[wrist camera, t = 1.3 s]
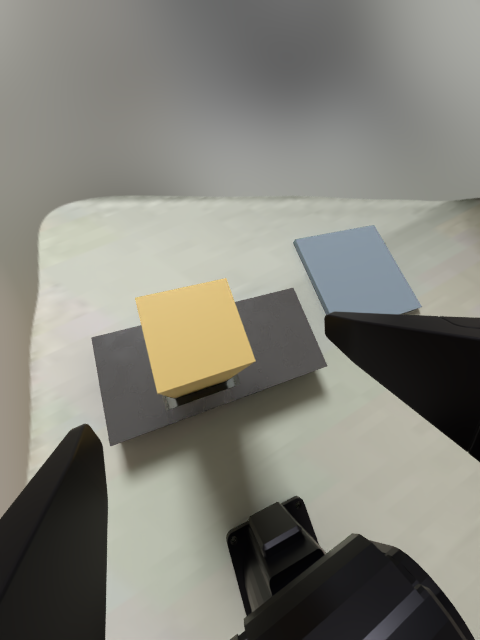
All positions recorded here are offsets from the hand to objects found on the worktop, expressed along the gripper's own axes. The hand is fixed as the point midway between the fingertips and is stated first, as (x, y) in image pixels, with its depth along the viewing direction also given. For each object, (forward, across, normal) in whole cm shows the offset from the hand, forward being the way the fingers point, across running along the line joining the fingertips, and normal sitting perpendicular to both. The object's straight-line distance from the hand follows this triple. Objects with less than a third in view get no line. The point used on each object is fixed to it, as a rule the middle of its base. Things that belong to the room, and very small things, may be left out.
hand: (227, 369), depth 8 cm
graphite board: (+12, -2, +7) cm, 14 cm away
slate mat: (+13, -21, +6) cm, 26 cm away
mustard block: (+12, 0, +7) cm, 14 cm away
